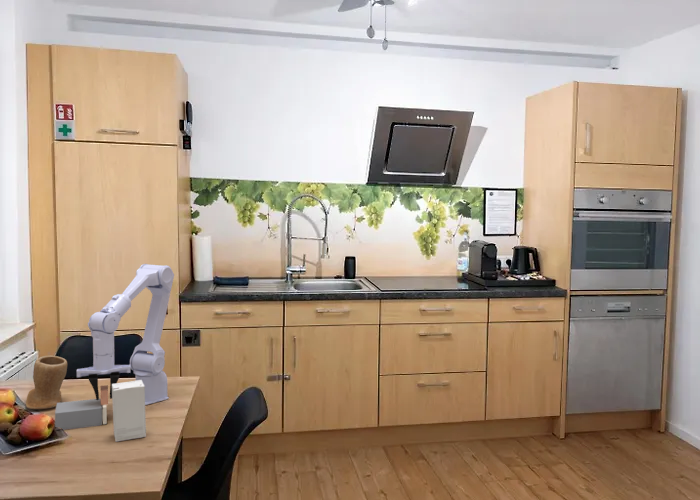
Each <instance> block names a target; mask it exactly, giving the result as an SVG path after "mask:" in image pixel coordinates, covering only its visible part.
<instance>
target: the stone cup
mask: <svg viewBox="0 0 700 500" xmlns="http://www.w3.org/2000/svg"><path fill="white" fill-rule="evenodd" d="M67 369H68V361H67V359H65V358H63V357H61V356H57V355H43V356H40V357H38V358H37V359H36V360H35V362H34V364H33V371H32V379H33V383H34V388H32V389H30V390H29V391H28V393H27V396H26V400H25V407H26V408H27V409H29V410H30V409H31V410H45V409H51V408H56V405H57V403H61V402H62V391H61V387H62V384H63V382H64V379H65V378H66V375H67V371H68V370H67Z"/></svg>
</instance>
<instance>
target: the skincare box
mask: <svg viewBox="0 0 700 500" xmlns="http://www.w3.org/2000/svg"><path fill="white" fill-rule="evenodd" d="M146 419H147V418H146V405H145V386H144V384H143V382H142V380H136V379H135V380H132V381H123V382H117V383H115V384H112V422H113V424H112V425H113V436H114V440H115V442H123V441H128V440H134V439H139V438H141V439H142V438H146V437H147V427H146V426H147V425H146V423H147V422H146Z"/></svg>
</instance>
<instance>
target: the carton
mask: <svg viewBox="0 0 700 500" xmlns="http://www.w3.org/2000/svg"><path fill="white" fill-rule="evenodd" d="M54 420H55V421H54V423H55V424H54V426H55V427H60V428H62V429H63V430H62V431H64V430H65V431H66V430H73V429H81V428H89V427H98V426H99V427H100V426H102V425H103V421H102V405H101V397H99V400H96V398H92V399H83V400H72V401H63V402H62V401H61V402H60V403H57V405H56V407H55V411H54Z"/></svg>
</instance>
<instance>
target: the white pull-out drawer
mask: <svg viewBox="0 0 700 500" xmlns="http://www.w3.org/2000/svg"><path fill="white" fill-rule="evenodd" d="M100 398H101V405H102V425H107V423H108V422H107V421H108V420H107V418H108V417H107V416H108V415H107V414H108V413H107V406H108V405H109V384H107V385H106V384H105V385H100Z"/></svg>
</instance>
